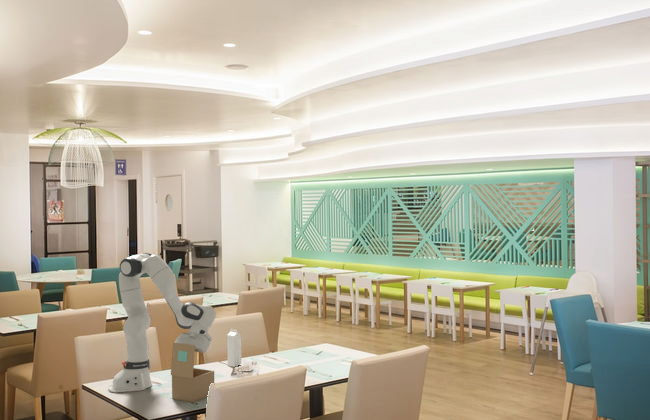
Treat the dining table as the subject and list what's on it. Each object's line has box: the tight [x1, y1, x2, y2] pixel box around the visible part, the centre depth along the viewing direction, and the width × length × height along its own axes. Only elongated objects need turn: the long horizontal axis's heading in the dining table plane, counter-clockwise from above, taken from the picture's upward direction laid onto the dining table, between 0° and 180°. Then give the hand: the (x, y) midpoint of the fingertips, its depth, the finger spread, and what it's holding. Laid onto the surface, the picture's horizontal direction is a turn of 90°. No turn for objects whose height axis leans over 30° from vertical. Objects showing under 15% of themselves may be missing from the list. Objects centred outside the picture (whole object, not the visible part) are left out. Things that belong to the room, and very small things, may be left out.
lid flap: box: [170, 342, 196, 378], centre depth 323 cm, size 16×14×1 cm
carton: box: [171, 367, 215, 403], centre depth 330 cm, size 16×14×12 cm
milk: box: [226, 328, 242, 368], centre depth 394 cm, size 6×6×22 cm
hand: (184, 357), depth 324 cm, fingers closed, pressing on lid flap
